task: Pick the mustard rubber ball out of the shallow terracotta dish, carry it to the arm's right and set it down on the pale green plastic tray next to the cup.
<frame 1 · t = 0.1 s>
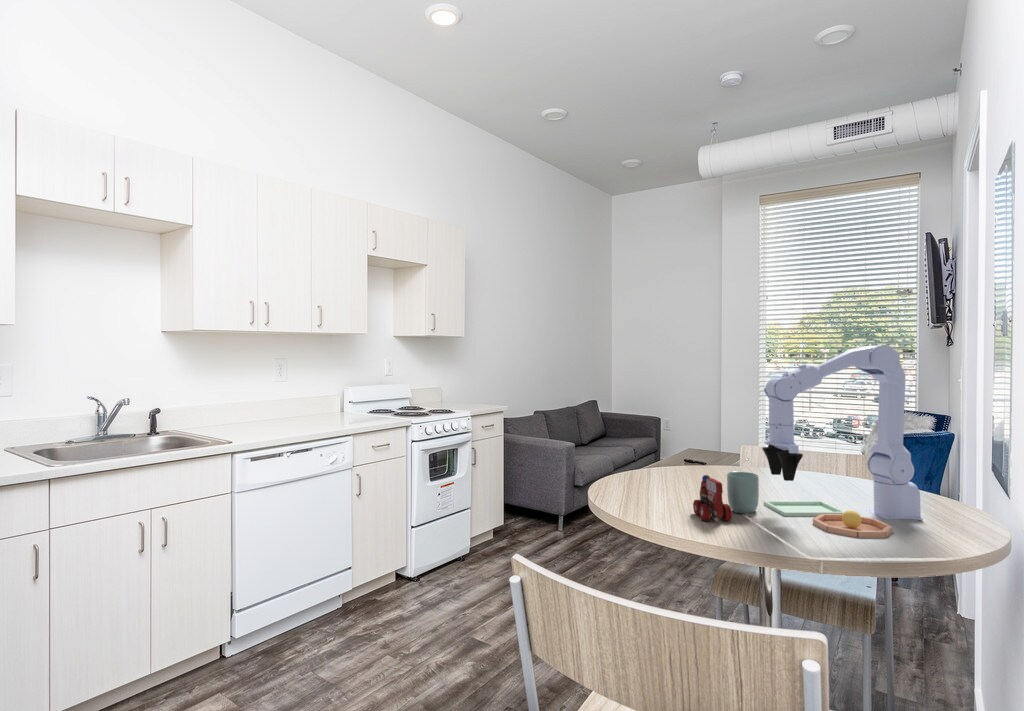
hand: (782, 477, 142), 10 cm above the table, fingers open, 7 cm apart
ball: (851, 527, 130), point 1 cm above the table, touching dish
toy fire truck: (711, 518, 141), on the table
tray: (804, 512, 146), on the table
dish: (851, 530, 130), on the table
cup: (743, 513, 146), on the table
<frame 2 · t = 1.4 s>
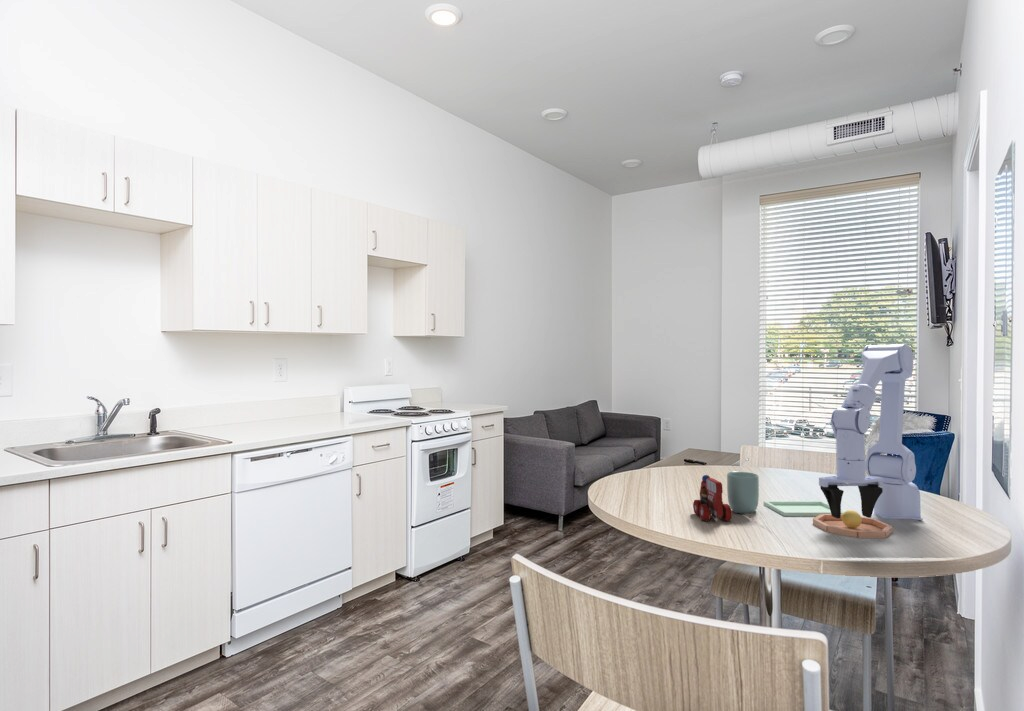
hand: (851, 516, 130), 3 cm above the table, fingers open, 7 cm apart
nothing on the table moved.
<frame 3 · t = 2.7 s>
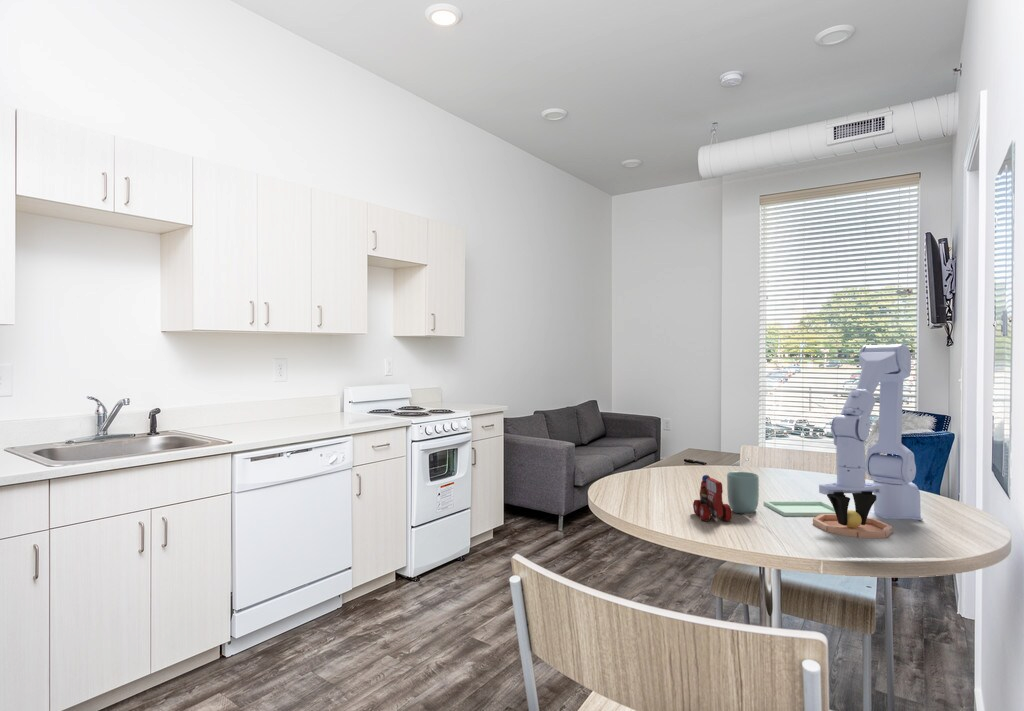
hand: (851, 524, 130), 1 cm above the table, fingers closed on ball, 4 cm apart
ball: (851, 527, 130), point 1 cm above the table, touching dish, gripper
everything else where it was.
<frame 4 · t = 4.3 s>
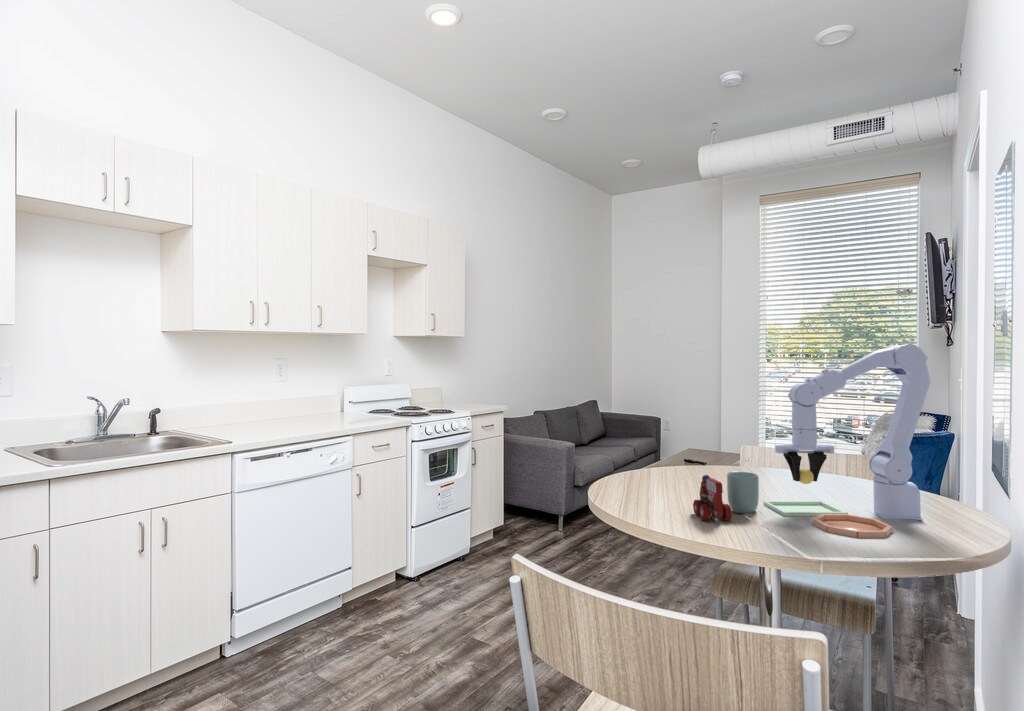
hand: (804, 480, 145), 8 cm above the table, fingers closed on ball, 4 cm apart
ball: (805, 484, 145), point 8 cm above the table, touching gripper
everything else where it was.
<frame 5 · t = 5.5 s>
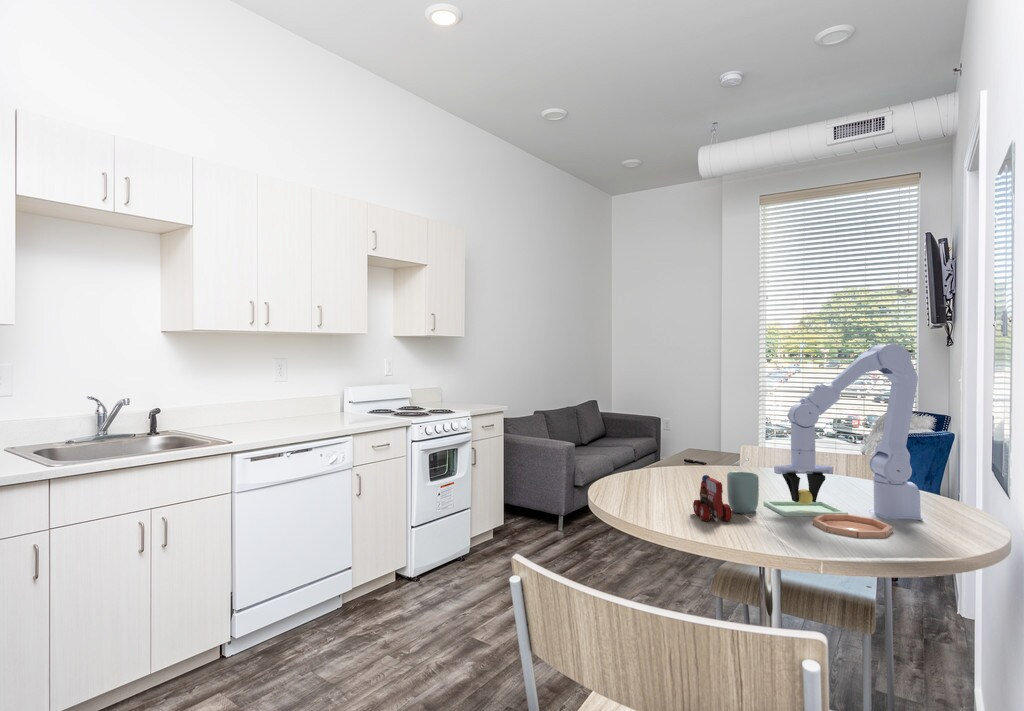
hand: (803, 501, 146), 3 cm above the table, fingers closed on ball, 4 cm apart
ball: (804, 504, 146), point 2 cm above the table, touching gripper
everything else where it was.
when the fingers open (3 cm above the table, at t = 6.2 s): ball drops 1 cm, resting on tray.
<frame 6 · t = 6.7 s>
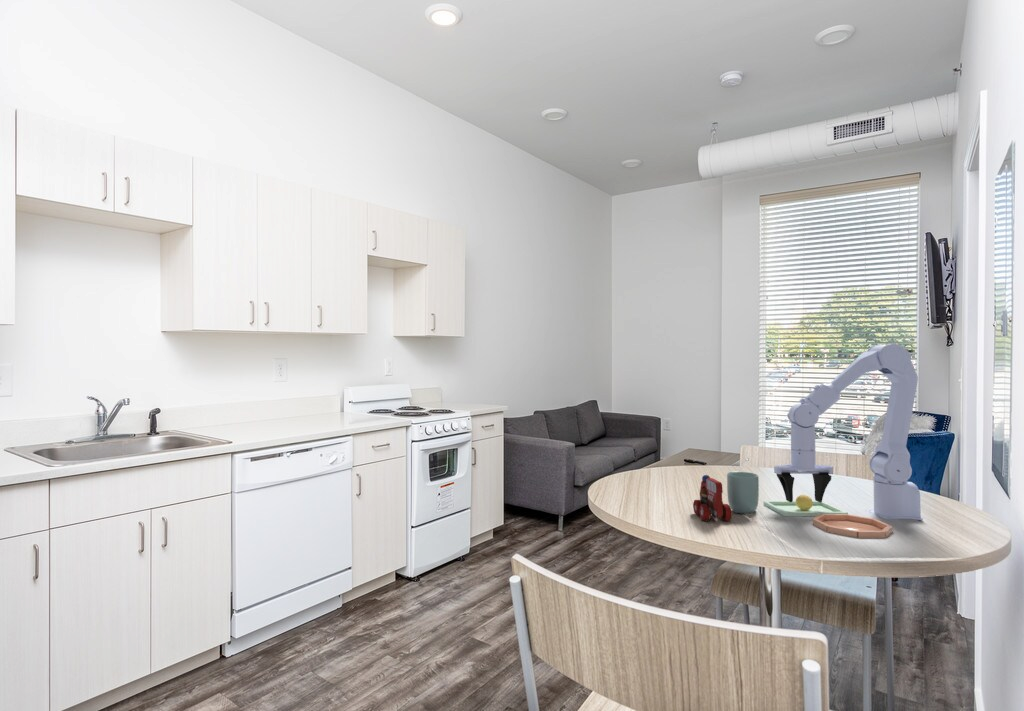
hand: (803, 501, 146), 3 cm above the table, fingers open, 7 cm apart
ball: (804, 510, 146), point 1 cm above the table, touching tray
everything else where it was.
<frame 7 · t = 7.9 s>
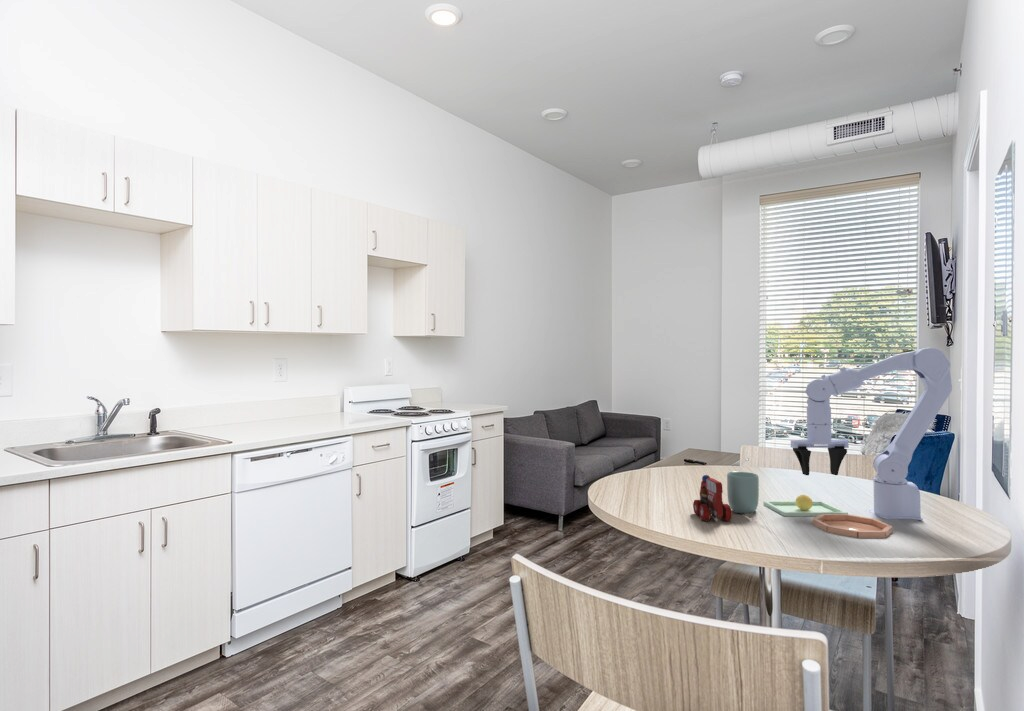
hand: (820, 474, 149), 9 cm above the table, fingers open, 7 cm apart
nothing on the table moved.
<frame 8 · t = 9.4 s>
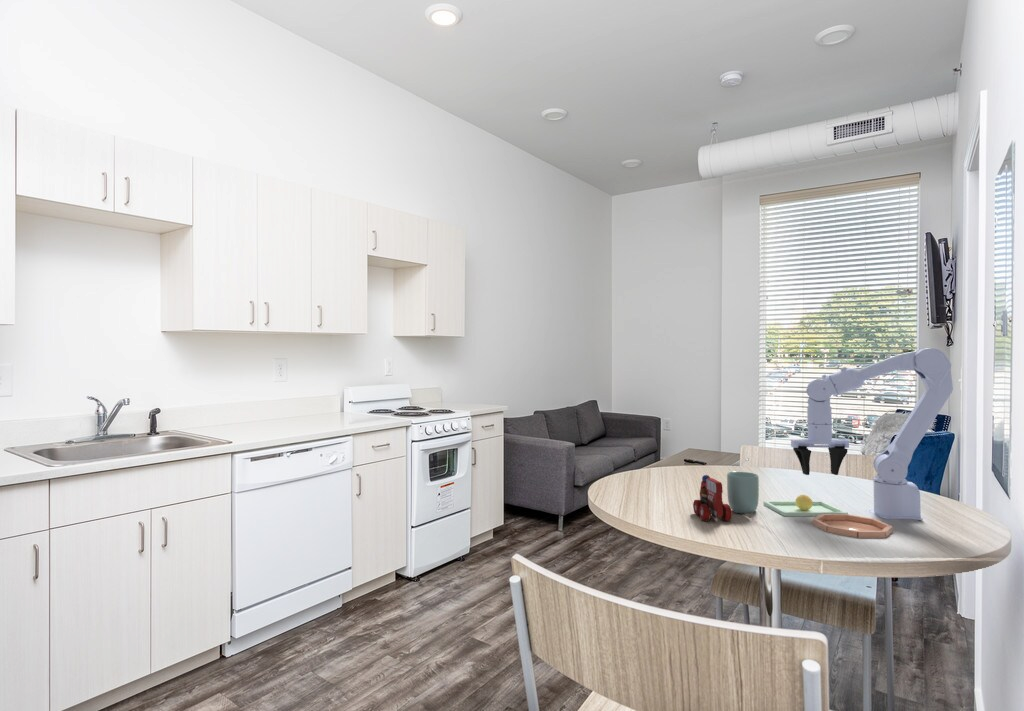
hand: (820, 474, 149), 9 cm above the table, fingers open, 7 cm apart
nothing on the table moved.
at the end: ball inside the target area on the tray (0.1 cm from its centre), point 0.6 cm above the tray's base; the gripper is holding nothing; ball touching tray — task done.
